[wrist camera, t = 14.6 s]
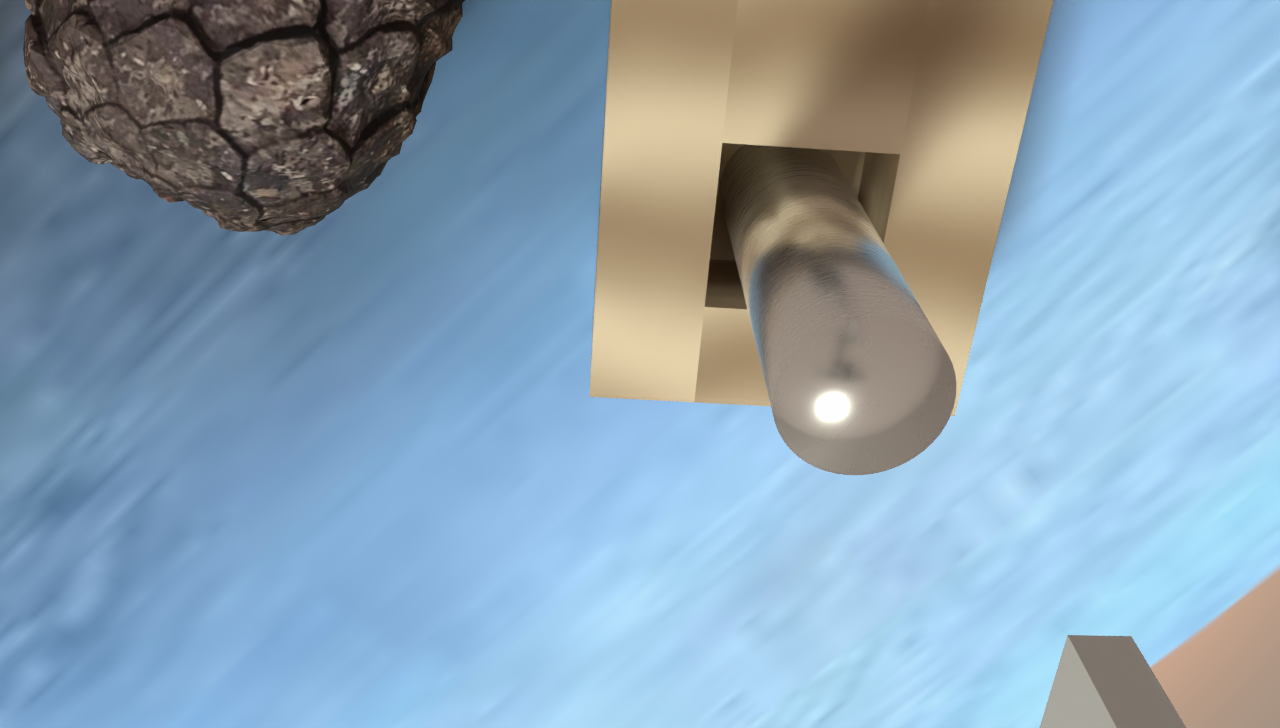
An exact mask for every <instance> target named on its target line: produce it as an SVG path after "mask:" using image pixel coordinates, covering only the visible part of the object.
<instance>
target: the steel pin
mask: <svg viewBox="0 0 1280 728" xmlns="http://www.w3.org/2000/svg"><path fill="white" fill-rule="evenodd" d="M720 195H721V202H722V207H723V211H724V215H725V219H726V223H727V227H728V231H729V235H730V240H731V244H732V248H733V252H734V256H735V260H736V264H737V268H738V272H739V276H740V281H741V285H742V289H743V293H744V297H745V301H746V305H747V309H748V313H749V317H750V322H751V326H752V330H753V334H754V338H755V342H756V346H757V350H758V354H759V358H760V363H761V367H762V371H763V375H764V379H765V383H766V387H767V391H768V395H769V399H770V404H771V408H772V412H773V416H774V420H775V424H776V426H777V429H778V431H779V433H780V435H781V437H782V439H783V440H784V442H785V443H786V444H787V446H788V447H789V448H790V449H791V450H792V451H793V452H794V453H795V454H796V455H797V456H798V457H800V458H801V459H802V460H804V461H805V462H807V463H809V464H811V465H813V466H814V467H817V468H819V469H822V470H825V471H828V472H832V473H836V474H844V475H865V474H873V473H878V472H883V471H886V470H889V469H892V468H895V467H897V466H899V465H901V464H904V463H906V462H907V461H909V460H911V459H913V458H914V457H916V456H917V455H918V454H920V453H921V452H923V451H924V450H925V449H926V448H927V447H928V446H929V445H930V444H932V443H933V441H934V440H935V439H936V438H937V437H938V436H939V434H940V433H941V432H942V430H943V429H944V427H945V426H946V424H947V422H948V420H949V418H950V416H951V413H952V410H953V407H954V404H955V398H956V385H957V384H956V375H955V371H954V367H953V364H952V362H951V360H950V357H949V355H948V353H947V352H946V350H945V348H944V346H943V345H942V343H941V341H940V340H939V338H938V336H937V334H936V333H935V331H934V329H933V327H932V326H931V324H930V322H929V321H928V319H927V317H926V315H925V314H924V312H923V310H922V309H921V307H920V305H919V303H918V302H917V300H916V298H915V297H914V295H913V293H912V291H911V290H910V288H909V286H908V284H907V283H906V281H905V279H904V278H903V276H902V274H901V272H900V271H899V269H898V267H897V266H896V264H895V262H894V260H893V259H892V257H891V255H890V253H889V252H888V250H887V248H886V247H885V245H884V243H883V241H882V240H881V238H880V236H879V235H878V233H877V231H876V229H875V228H874V226H873V224H872V223H871V221H870V219H869V217H868V216H867V214H866V212H865V210H864V209H863V207H862V205H861V204H860V202H859V200H858V198H857V197H856V195H855V193H854V192H853V190H852V188H851V186H850V185H849V183H848V181H847V179H846V178H845V176H844V174H843V173H842V171H841V169H840V167H839V166H838V164H837V162H836V161H835V159H834V157H833V156H832V154H831V153H830V151H829V150H825V149H810V148H794V147H779V146H763V145H747V144H743V145H742V146H741V147H740V148H739V149H738V150H737V151H736V152H735V153H734V155H733V156H732V157H731V159H730V160H729V162H728V164H727V166H726V168H725V170H724V173H723V176H722V180H721V188H720Z"/></svg>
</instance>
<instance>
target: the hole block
mask: <svg viewBox="0 0 1280 728" xmlns="http://www.w3.org/2000/svg"><path fill="white" fill-rule="evenodd" d="M1053 1H1054V0H611V11H610V29H609V47H608V64H607V82H606V100H605V118H604V136H603V154H602V172H601V190H600V208H599V226H598V244H597V262H596V280H595V298H594V316H593V335H592V357H591V378H590V397H605V398H624V399H643V400H663V401H682V402H701V403H720V404H739V405H759V406H771V404H770V399H769V395H768V391H767V387H766V383H765V379H764V375H763V371H762V367H761V363H760V358H759V354H758V350H757V346H756V342H755V338H754V334H753V330H752V326H751V322H750V317H749V313H748V309H747V305H746V301H745V297H744V293H743V289H742V285H741V281H740V276H739V272H738V268H737V264H736V260H735V256H734V252H733V248H732V244H731V240H730V235H729V231H728V227H727V223H726V219H725V215H724V211H723V207H722V202H721V195H720V188H721V180H722V176H723V173H724V170H725V168H726V166H727V164H728V162H729V160H730V159H731V157H732V156H733V155H734V153H735V152H736V151H737V150H738V149H739V148H740V147H741V146H742V145H743V144H747V145H763V146H779V147H794V148H810V149H825V150H829V151H830V153H831V154H832V156H833V157H834V159H835V161H836V162H837V164H838V166H839V167H840V169H841V171H842V173H843V174H844V176H845V178H846V179H847V181H848V183H849V185H850V186H851V188H852V190H853V192H854V193H855V195H856V197H857V198H858V200H859V202H860V204H861V205H862V207H863V209H864V210H865V212H866V214H867V216H868V217H869V219H870V221H871V223H872V224H873V226H874V228H875V229H876V231H877V233H878V235H879V236H880V238H881V240H882V241H883V243H884V245H885V247H886V248H887V250H888V252H889V253H890V255H891V257H892V259H893V260H894V262H895V264H896V266H897V267H898V269H899V271H900V272H901V274H902V276H903V278H904V279H905V281H906V283H907V284H908V286H909V288H910V290H911V291H912V293H913V295H914V297H915V298H916V300H917V302H918V303H919V305H920V307H921V309H922V310H923V312H924V314H925V315H926V317H927V319H928V321H929V322H930V324H931V326H932V327H933V329H934V331H935V333H936V334H937V336H938V338H939V340H940V341H941V343H942V345H943V346H944V348H945V350H946V352H947V353H948V355H949V357H950V360H951V362H952V364H953V367H954V371H955V375H956V384H957V385H956V398H955V404H954V407H953V410H952V413H951V416H955V412H956V408H957V403H958V399H959V395H960V391H961V387H962V382H963V378H964V374H965V370H966V366H967V361H968V357H969V353H970V349H971V345H972V340H973V336H974V332H975V328H976V324H977V319H978V315H979V311H980V307H981V303H982V299H983V294H984V290H985V286H986V282H987V278H988V273H989V269H990V265H991V261H992V257H993V252H994V248H995V244H996V240H997V236H998V231H999V227H1000V223H1001V219H1002V215H1003V210H1004V206H1005V202H1006V198H1007V194H1008V190H1009V185H1010V181H1011V177H1012V173H1013V169H1014V164H1015V160H1016V156H1017V152H1018V148H1019V143H1020V139H1021V135H1022V131H1023V127H1024V122H1025V118H1026V114H1027V110H1028V106H1029V101H1030V97H1031V93H1032V89H1033V85H1034V81H1035V76H1036V72H1037V68H1038V64H1039V60H1040V55H1041V51H1042V47H1043V43H1044V39H1045V34H1046V30H1047V26H1048V22H1049V18H1050V13H1051V9H1052V5H1053Z"/></svg>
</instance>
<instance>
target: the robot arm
mask: <svg viewBox="0 0 1280 728" xmlns="http://www.w3.org/2000/svg"><path fill="white" fill-rule="evenodd" d="M1040 728H1186V727H1185V725H1184V723H1183V722H1182V720H1181V718H1180V717H1179V715H1178V713H1177V712H1176V710H1175V708H1174V707H1173V705H1172V703H1171V702H1170V700H1169V698H1168V697H1167V695H1166V694H1165V692H1164V690H1163V688H1162V687H1161V685H1160V683H1159V682H1158V680H1157V678H1156V677H1155V675H1154V674H1153V672H1152V670H1151V668H1150V667H1149V665H1148V663H1147V662H1146V660H1145V658H1144V657H1143V655H1142V654H1141V652H1140V650H1139V649H1138V647H1137V645H1136V644H1135V642H1134V640H1133V639H1132V637H1131V636H1080V635H1068V636H1067V639H1066V643H1065V646H1064V649H1063V653H1062V656H1061V659H1060V662H1059V666H1058V669H1057V672H1056V676H1055V679H1054V682H1053V686H1052V689H1051V692H1050V695H1049V699H1048V702H1047V705H1046V709H1045V712H1044V715H1043V719H1042V722H1041V725H1040Z"/></svg>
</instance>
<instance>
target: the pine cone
mask: <svg viewBox="0 0 1280 728" xmlns="http://www.w3.org/2000/svg"><path fill="white" fill-rule="evenodd" d="M464 1H465V0H25V6H26V7H27V8H28V9H30V10H31V15H30V16H29V17H28V19H27V20H26V22H25V35H24V48H23V49H24V61H25V68H26V72H27V77H28V82H29V87H30V88H31V89H32V90H33V91H34V92H35V93H36V94H37V95H41V96H45V97H46V101H47V104H48V106H49V107H50V108H51V109H52V110H53V111H54V112H55V113H56V114H57V115H58V116H59V117H60V118H61V125H62V135H63V136H64V137H65V139H66V140H67V141H68V142H69V144H70V145H71V146H72V148H73V149H74V150H76V151H77V152H78V153H80V154H81V155H82V156H83V157H84V158H86V159H87V160H88V161H89V162H93V163H97V164H104V163H111V164H112V165H114V166H116V167H117V168H119V169H121V170H123V171H124V172H125V173H126V174H127V175H128V176H130V177H132V178H135V179H142V180H144V181H146V182H147V183H148V184H149V185H150V186H151V187H152V188H153V190H154V191H155V193H156V194H157V195H158V196H159V197H161V198H163V199H165V200H167V201H168V202H177V201H184V200H185V201H187V202H188V203H189V204H190V205H192V206H193V207H194V208H198V209H201V210H202V211H203V212H204V214H205V215H208V216H210V217H213V218H215V219H216V220H217V222H218V224H219V226H220V228H223V229H227V230H232V231H239V232H240V231H262V230H267V231H274V232H276V233H278V234H280V235H290V234H296V233H298V232H299V231H301V230H303V229H304V228H306V227H309V226H313V225H315V224H317V223H318V222H320V221H321V220H323V219H324V218H325V216H326V215H328V214H330V213H331V212H333V211H335V210H336V209H338V208H339V207H340V206H341V205H342V204H343V203H344V201H345V200H346V199H348V198H350V197H351V196H353V195H355V194H356V193H358V192H359V191H362V190H364V189H367V188H368V187H369V186H370V184H371V183H372V182H373V181H374V180H375V178H376V177H378V176H379V175H381V173H382V171H383V169H384V167H385V165H386V163H387V161H388V160H389V159H391V158H392V157H394V156H396V155H398V154H399V153H400V149H401V145H402V142H403V141H404V140H405V139H406V138H407V137H409V136H410V135H411V134H412V132H413V129H414V126H415V124H416V121H417V120H416V116H417V115H418V114H419V113H420V112H421V108H422V104H423V101H424V98H425V96H426V94H427V91H428V89H429V86H430V84H431V82H432V78H433V74H434V70H435V65H436V61H437V60H438V59H440V58H441V57H443V56H444V55H446V54H447V53H448V52H450V51H451V50H452V36H453V33H454V30H455V28H456V26H457V24H458V23H459V21H460V19H461V17H462V3H463V2H464Z"/></svg>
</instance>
